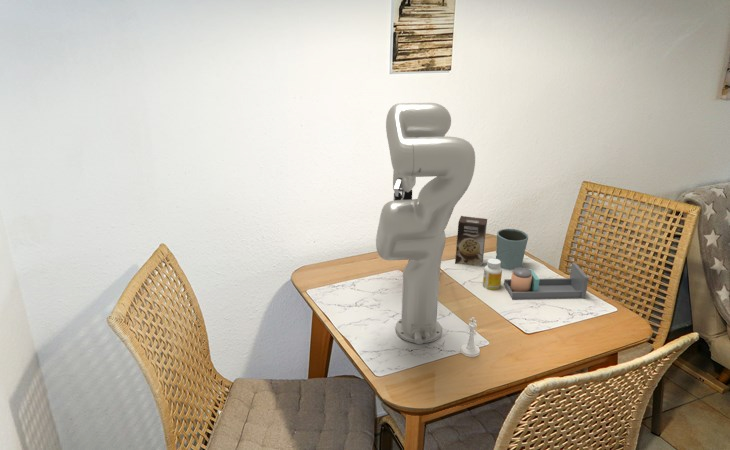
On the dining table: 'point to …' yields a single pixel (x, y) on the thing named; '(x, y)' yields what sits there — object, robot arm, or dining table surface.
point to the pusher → (534, 282)
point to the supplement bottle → (492, 274)
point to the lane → (555, 287)
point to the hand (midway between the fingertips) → (402, 206)
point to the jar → (521, 280)
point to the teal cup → (511, 248)
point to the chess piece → (471, 342)
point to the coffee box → (470, 241)
